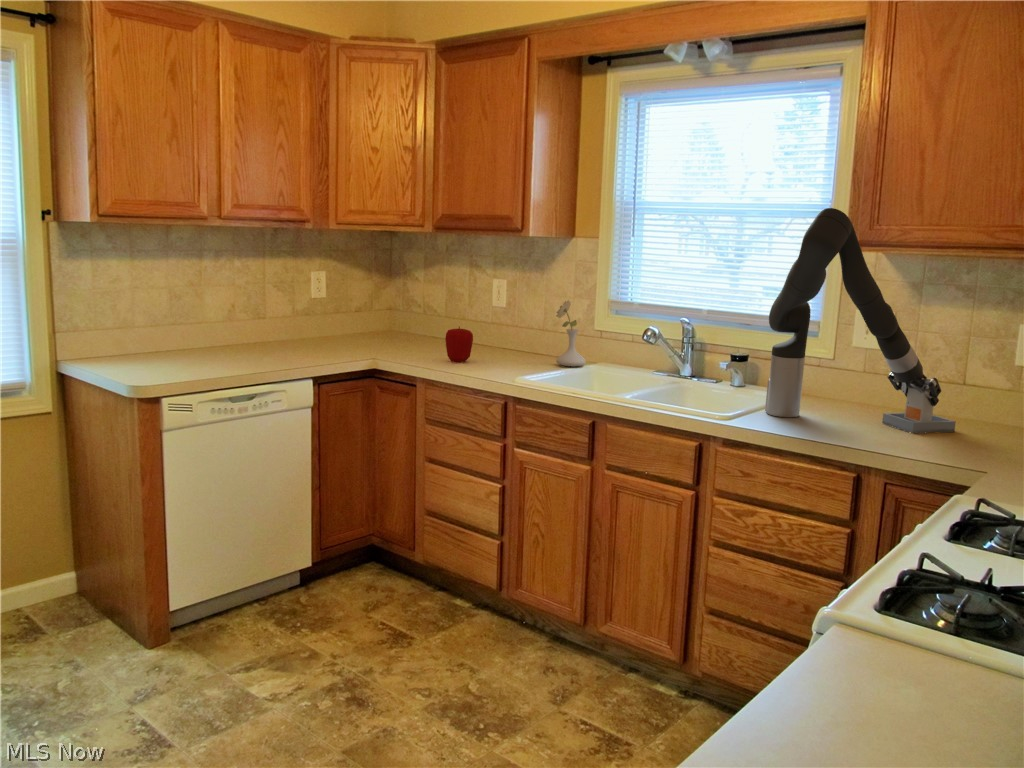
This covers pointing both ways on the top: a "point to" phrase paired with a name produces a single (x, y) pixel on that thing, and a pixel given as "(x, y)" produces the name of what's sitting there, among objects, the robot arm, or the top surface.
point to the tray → (919, 423)
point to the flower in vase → (571, 354)
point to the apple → (459, 344)
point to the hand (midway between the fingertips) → (923, 401)
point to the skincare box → (918, 406)
